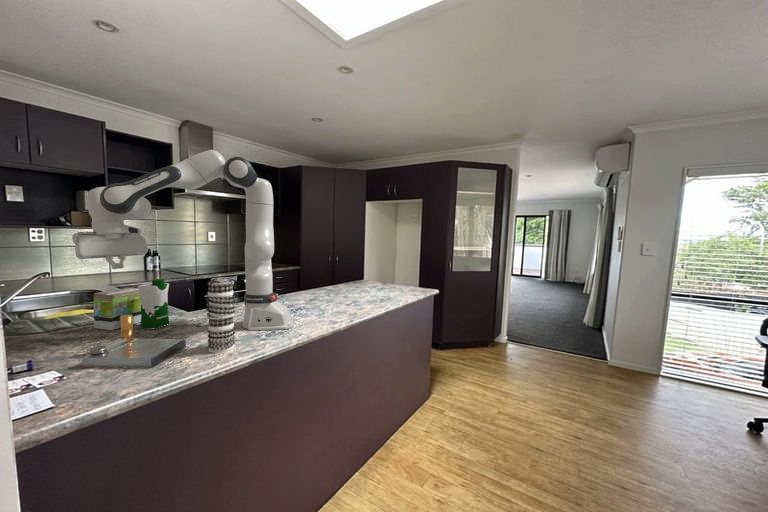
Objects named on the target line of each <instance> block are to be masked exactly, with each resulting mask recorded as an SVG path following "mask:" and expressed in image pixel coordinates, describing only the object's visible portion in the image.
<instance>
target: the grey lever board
mask: <svg viewBox="0 0 768 512" xmlns="http://www.w3.org/2000/svg"><path fill="white" fill-rule="evenodd" d="M186 346H187V340H186V339H185V338H180V339H179V338H133V340H131V341H126V342H123V343H121V344H119V345H117V346H114V347H112V348H110V349H108V350H106V352H105V353H103V354H99V355H90V353H89V354H87V355H84V356H82V360H81V361H82V368H129V369H131V368H137V369H138V368H141V369H143V368H145V369H146V368H149V369H150V368H154V367H156V366H157V365H159V364H160V363H162V362H164V361H165V360H166V359H169V358H170V357H172V356H173V355H175V354H177V353H178V352H180V351H181V350H183V349H185V348H187V347H186Z"/></svg>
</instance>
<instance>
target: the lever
mask: <svg viewBox="0 0 768 512" xmlns="http://www.w3.org/2000/svg"><path fill="white" fill-rule="evenodd" d="M120 324H121V328H120V338H117V339H115V340H113V341H110V342H108V343H105V344H104V345H99V346H94V347H92V348H90V350H89V352H90V353H89V354H90V355H99V354H103V353H105V352H106V350H108V349H110V348H112V347H114V346H117V345H119V344H121V343H123V342H126V341H131V340H133V339H134V324H133V315H122V316H120Z"/></svg>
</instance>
